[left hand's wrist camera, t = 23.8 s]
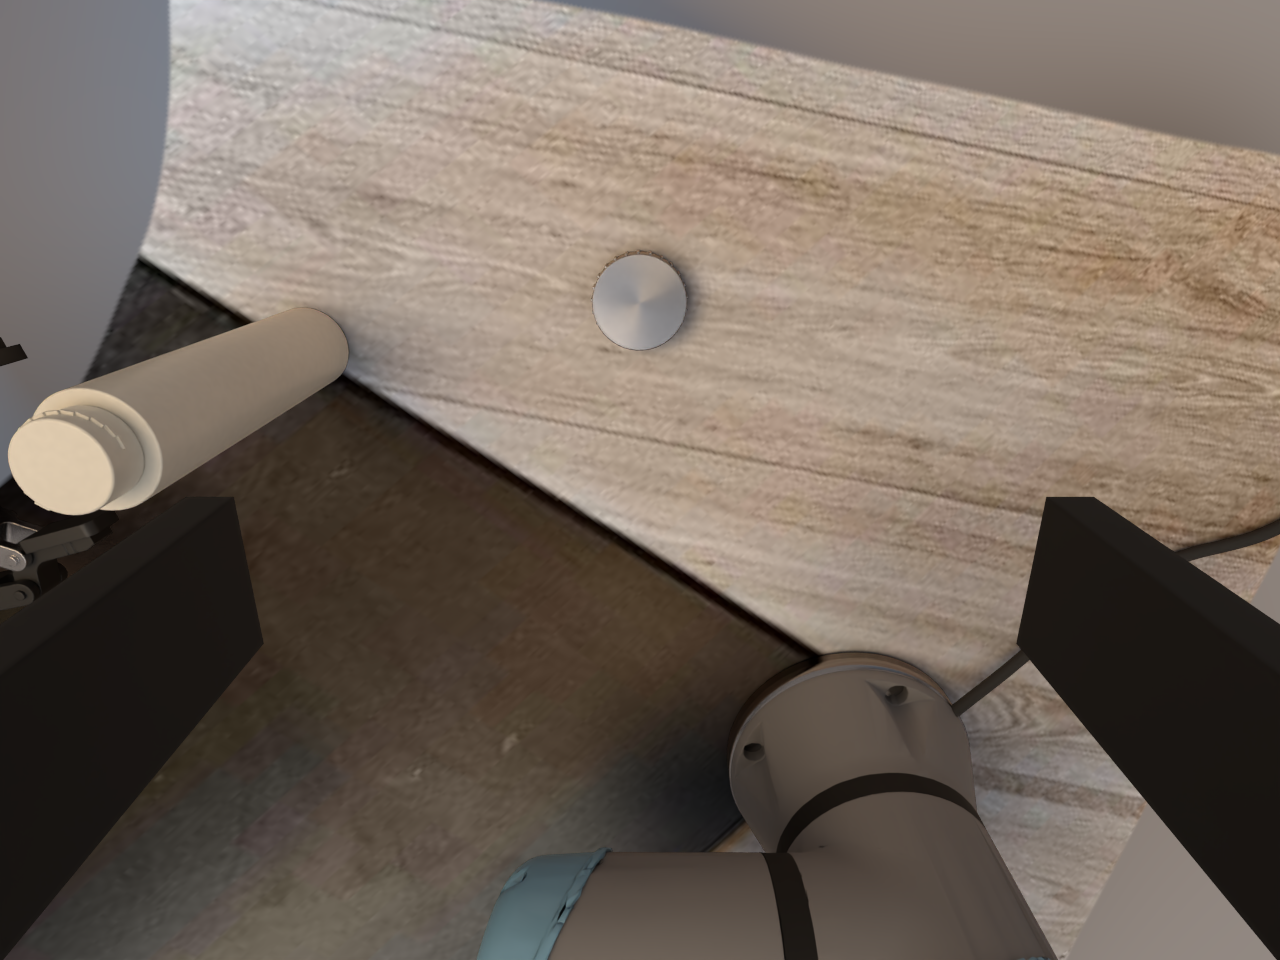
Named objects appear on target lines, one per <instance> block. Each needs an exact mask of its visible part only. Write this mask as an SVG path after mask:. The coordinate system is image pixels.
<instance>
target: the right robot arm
mask: <svg viewBox="0 0 1280 960" xmlns="http://www.w3.org/2000/svg"><path fill="white" fill-rule="evenodd" d="M26 358H27V356H26V354H25V352H24V351H23V349H22V347H21V345H20V344H18V345H14V346H10V347H6V345H5V344H4V342H3V340H2V338H1V337H0V366H3V365H6V364H9V363H13V362H16V361H20V360H23V359H26ZM118 520H119V518H118V517H117V515H116V513H115V511H114V510H97V511H95V512H92V513H89V514H84V515H79V516H75V517H72V518H68V519H64V520H61V521H57V522H54V523H51V524H49V525H47V526H45V527H42V526H39V525H36V524H32V523H29V522H26V521H23V520H20V519H18V518H17V513H16V512H14V511H12V510H9V509H6V508H3V507H0V567H2V568H5V569H8V570H7V571H2V572H0V610H5V609H10V608H15V607H20V606H25V605H29V604H31V603H32V602H34V601H35V600H36V599H38V598H39V597H41V596H42V595H44V594H45V593H47V592H48V591H50V590H51V589H53V588H54V587H55V586H57V585H58V584H60V583H61V582H63V581H64V580H65V579H66V578H67V575H68V574H67V570H66V569H65V567H64V566H63V565H61V564H60V563H57V558H60V557H63V556H67V555H71V554H75V553H78V552H82V551H86V550H88V549H90V548H91V547H93V546H94V545H96V544H97V543H99V542H100V541H102V540H103V539H105V538H106V537H107V536H108V535H110V534H111V533H112V530H111V528H110V527H109V526H110V525H112V524H113V523H115V522H116V521H118Z"/></svg>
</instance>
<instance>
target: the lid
mask: <svg viewBox="0 0 1280 960" xmlns="http://www.w3.org/2000/svg"><path fill="white" fill-rule="evenodd" d="M680 276H681V274H680V272H679V271H678V272H677V271H676V269H675V268H674V267H673V264H672V262H670V263H669V262H668V261H667V260H665V259H664V258H663V256H662V255H660V256H658V255H656V254H653V253H652V252H651V251H649V252H644V251H639V250H637V251H635V252H629V253H628V251H627V252H625V254H623V255H621V256H619V257H617V256H615V257H614V260H612V261H611V262H610V263H609V264H607V263H606V265H605V267H604V269H603V271H602V272H601V274H600V273H599V274H598V276H597V278H598V280H597V282H596V284H594V286H593V289H594V291H593V296H592V298H591V301H592V308H593V311H592V313H594V317H595V320H596V324H597V325H598V326H599V328H600V330H601V331H602V332H603V334H604V335H605V336H606V337H607V338H608V339H610V340H611V341H612V342H614V343H615V344H617V345H619V346H621V347H623V348H627V349H630V350H649V349H653V348H656V347H658V346H660V345H662V344H664V343H666V342H667V341H669V340H670V339H671V338H672V337H673V336H674V335H675V334H676V333H677V332H678V330H679V328H680V326H681V325H682V323H683V322H684V317H685V314H686V311H687V299H688V296H687V294H686V291H685V287H686V285H685V283H684V282H682V280H681V278H680Z"/></svg>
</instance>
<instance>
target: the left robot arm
mask: <svg viewBox="0 0 1280 960" xmlns="http://www.w3.org/2000/svg"><path fill="white" fill-rule="evenodd" d="M1279 534H1280V519H1279V520H1277V521H1275V522H1273V523H1271V524H1269V525H1267V526H1264V527H1262V528H1260V529H1257V530H1255V531H1252V532H1249V533H1246V534H1243V535H1239V536H1236V537H1232V538H1228V539H1224V540H1219V541H1215V542H1211V543H1207V544H1203V545H1198V546H1195V547H1191V548H1187V549H1184V550H1181V551H1178V552H1173V551H1172V550H1171V549H1169V548H1168V547H1166V546H1165V545H1163V544H1162V543H1160V542H1159V541H1157V540H1156V539H1154V538H1153V537H1152V536H1150V535H1149V534H1147V533H1146V532H1144V531H1143V530H1141V529H1140V528H1138V527H1137V526H1135V525H1134V524H1133V523H1131V522H1130V521H1128V520H1127V519H1125V518H1124V517H1122V516H1121V515H1119V514H1118V513H1116V512H1115V511H1114V510H1112V509H1111V508H1109V507H1108V506H1106V505H1105V504H1103V503H1102V502H1100V501H1099V500H1098V499H1096V498H1095V497H1046V501H1045V506H1044V511H1043V516H1042V521H1041V526H1040V531H1039V536H1038V541H1037V545H1036V550H1035V555H1034V560H1033V565H1032V570H1031V575H1030V580H1029V584H1028V589H1027V594H1026V599H1025V604H1024V609H1023V614H1022V619H1021V623H1020V628H1019V633H1018V638H1017V643H1016V644H1017V645H1018V646H1019V647H1020V648H1021V650H1020V651H1019V652H1018V653H1017V654H1016V655H1014V656H1013V657H1012V658H1011V659H1010V660H1009V661H1007V662H1006V663H1005V664H1004V665H1002V666H1001V667H1000V668H999V669H998V670H996V671H995V672H994V673H993V674H991V675H990V676H989V677H987V678H986V679H985V680H984V681H982V682H981V683H980V684H979V685H977V686H976V687H975V688H973V689H972V690H971V691H970V692H968V693H967V694H966V695H964V696H963V697H962V698H961V699H959V700H958V701H957V702H955V703H954V704H953V705H952V703H951V702H950V700H949V698H948V697H947V695H946V694H945V693H944V691H943V690H942V689H941V688H940V687H939V685H938V684H937V683H936V682H935V681H933V680H932V679H931V678H930V677H929V676H927V675H926V674H925V673H923V672H922V671H920V670H919V669H917V668H915V667H914V666H912V665H909V664H907V663H905V662H903V661H900V660H897V659H894V658H891V657H887V656H883V655H878V654H871V653H858V652H854V653H837V654H830V655H825V656H820V657H816V658H813V659H809V660H806V661H804V662H801V663H798V664H796V665H794V666H792V667H789V668H787V669H786V670H784V671H782V672H780V673H778V674H777V675H775V676H774V677H772V678H771V679H770V680H768V681H767V682H766V683H764V684H763V685H762V686H761V687H760V688H758V689H757V691H756V692H755V693H754V694H753V695H752V696H751V697H750V698H749V699H748V700H747V702H746V703H745V704H744V706H743V707H742V709H741V710H740V712H739V713H738V715H737V717H736V719H735V721H734V723H733V726H732V728H731V731H730V735H729V739H728V745H727V766H728V773H729V779H730V786H731V790H732V795H733V797H734V800H735V803H736V805H737V807H738V809H739V811H740V813H741V814H742V816H743V817H744V819H745V821H746V822H747V824H748V825H749V827H750V828H751V830H752V832H753V833H754V835H755V836H756V838H757V840H758V841H759V843H760V844H761V846H762V847H763V849H764V851H765V852H766V853H762V852H759V853H749V852H613V850H612V848H606V847H605V848H600V849H598V850H597V851H596V852H592V853H573V854H555V855H542V856H537V857H535V858H532V859H530V860H528V861H526V862H525V863H524V864H522V865H521V866H520V867H519V868H517V869H516V870H515V872H514V873H513V874H512V875H511V876H510V878H509V879H508V881H507V882H506V884H505V886H504V887H503V889H502V891H501V893H500V895H499V898H498V899H497V901H496V904H495V906H494V908H493V911H492V914H491V916H490V919H489V921H488V924H487V927H486V930H485V933H484V936H483V940H482V943H481V946H480V949H479V953H478V957H477V960H1058V959H1057V957H1056V955H1055V953H1054V952H1053V950H1052V948H1051V946H1050V944H1049V943H1048V941H1047V939H1046V937H1045V935H1044V933H1043V932H1042V930H1041V928H1040V926H1039V924H1038V923H1037V921H1036V919H1035V917H1034V915H1033V913H1032V912H1031V910H1030V908H1029V906H1028V904H1027V903H1026V901H1025V899H1024V897H1023V895H1022V894H1021V892H1020V890H1019V888H1018V886H1017V884H1016V883H1015V881H1014V879H1013V877H1012V875H1011V874H1010V872H1009V870H1008V868H1007V866H1006V864H1005V863H1004V861H1003V859H1002V857H1001V855H1000V854H999V852H998V850H997V848H996V846H995V844H994V843H993V841H992V839H991V837H990V836H989V834H988V832H987V830H986V828H985V826H984V825H983V823H982V821H981V819H980V817H979V815H978V813H977V808H976V799H975V790H974V781H973V772H972V763H971V754H970V746H969V740H968V735H967V732H966V729H965V727H964V724H963V722H962V720H961V718H960V717H959V716H960V715H961V714H962V713H964V712H965V711H966V710H967V709H969V708H970V707H971V706H973V705H974V704H975V703H977V702H978V701H979V700H980V699H982V698H983V697H984V696H986V695H987V694H988V693H989V692H991V691H992V690H993V689H994V688H996V687H997V686H998V685H1000V684H1001V683H1002V682H1003V681H1005V680H1006V679H1007V678H1008V677H1010V676H1011V675H1012V674H1013V673H1014V672H1016V671H1017V670H1018V669H1019V668H1020V667H1022V666H1023V665H1024V664H1025V663H1026V662H1028V661H1029V660H1030V661H1031V662H1032V663H1033V664H1034V665H1035V667H1036V668H1037V669H1038V670H1039V671H1040V673H1041V674H1042V675H1043V676H1044V678H1045V679H1046V680H1047V681H1048V682H1049V684H1050V685H1051V686H1052V687H1053V688H1054V690H1055V691H1056V692H1057V693H1058V695H1059V696H1060V697H1061V698H1062V699H1063V701H1064V702H1065V703H1066V704H1067V705H1068V707H1069V708H1070V709H1071V710H1072V712H1073V713H1074V714H1075V715H1076V716H1077V718H1078V719H1079V720H1080V721H1081V722H1082V724H1083V725H1084V726H1085V727H1086V729H1087V730H1088V731H1089V732H1090V733H1091V735H1092V736H1093V737H1094V738H1095V739H1096V741H1097V742H1098V743H1099V744H1100V746H1101V747H1102V748H1103V749H1104V750H1105V752H1106V753H1107V754H1108V755H1109V756H1110V758H1111V759H1112V760H1113V761H1114V763H1115V764H1116V765H1117V766H1118V767H1119V769H1120V770H1121V771H1122V772H1123V773H1124V775H1125V776H1126V777H1127V778H1128V780H1129V781H1130V782H1131V783H1132V784H1133V786H1134V787H1135V788H1136V789H1137V790H1138V792H1139V793H1140V794H1141V795H1142V797H1143V798H1144V799H1145V800H1146V801H1147V803H1148V804H1149V805H1150V806H1151V808H1152V809H1153V810H1154V811H1155V812H1156V814H1157V815H1158V816H1159V817H1160V818H1161V820H1162V821H1163V822H1164V823H1165V825H1166V826H1167V827H1168V828H1169V829H1170V831H1171V832H1172V833H1173V834H1174V835H1175V837H1176V838H1177V839H1178V840H1179V841H1180V843H1181V844H1182V845H1183V846H1184V848H1185V849H1186V850H1187V851H1188V852H1189V854H1190V855H1191V856H1192V857H1193V858H1194V860H1195V861H1196V862H1197V863H1198V865H1199V866H1200V867H1201V868H1202V869H1203V871H1204V872H1205V873H1206V874H1207V876H1208V877H1209V878H1210V879H1211V880H1212V882H1213V883H1214V884H1215V885H1216V886H1217V888H1218V889H1219V890H1220V891H1221V893H1222V894H1223V895H1224V896H1225V897H1226V899H1227V900H1228V901H1229V902H1230V903H1231V905H1232V906H1233V907H1234V908H1235V910H1236V911H1237V912H1238V913H1239V914H1240V916H1241V917H1242V918H1243V919H1244V920H1245V922H1246V923H1247V924H1248V925H1249V927H1250V928H1251V929H1252V930H1253V931H1254V933H1255V934H1256V935H1257V936H1258V937H1259V939H1260V940H1261V941H1262V942H1263V944H1264V945H1265V946H1266V947H1267V948H1268V950H1269V951H1270V952H1271V953H1272V954H1273V956H1274V957H1275V958H1276V959H1277V960H1280V624H1279V623H1277V622H1276V621H1274V620H1273V619H1271V618H1270V617H1268V616H1267V615H1265V614H1264V613H1262V612H1261V611H1260V610H1258V609H1257V608H1255V607H1254V606H1252V605H1251V604H1249V603H1248V602H1246V601H1245V600H1244V599H1242V598H1241V597H1239V596H1238V595H1236V594H1235V593H1233V592H1232V591H1230V590H1229V589H1227V588H1226V587H1225V586H1223V585H1222V584H1220V583H1219V582H1217V581H1216V580H1214V579H1213V578H1211V577H1210V576H1208V575H1207V574H1206V573H1204V572H1203V571H1201V570H1200V569H1198V568H1197V567H1195V566H1194V565H1192V564H1191V563H1189V562H1188V561H1192V560H1195V559H1199V558H1202V557H1206V556H1210V555H1214V554H1219V553H1223V552H1227V551H1232V550H1236V549H1240V548H1243V547H1247V546H1250V545H1253V544H1257V543H1259V542H1262V541H1265V540H1268V539H1270V538H1272V537H1275V536H1277V535H1279ZM263 644H264V643H263V638H262V633H261V628H260V623H259V619H258V614H257V609H256V604H255V599H254V594H253V589H252V584H251V580H250V575H249V570H248V565H247V560H246V555H245V550H244V545H243V541H242V536H241V531H240V526H239V521H238V516H237V511H236V506H235V501H234V497H185V498H184V499H182V500H181V501H180V502H178V503H177V504H175V505H174V506H172V507H171V508H169V509H168V510H166V511H165V512H164V513H162V514H161V515H159V516H158V517H156V518H155V519H153V520H152V521H150V522H149V523H147V524H146V525H145V526H143V527H142V528H140V529H139V530H137V531H136V532H134V533H133V534H131V535H130V536H128V537H127V538H126V539H124V540H123V541H121V542H120V543H118V544H117V545H115V546H114V547H112V548H111V549H109V550H108V551H107V552H105V553H104V554H102V555H101V556H99V557H98V558H96V559H95V560H93V561H92V562H91V563H89V564H88V565H86V566H85V567H83V568H82V569H80V570H79V571H77V572H76V573H74V574H73V575H72V576H70V577H69V578H67V579H66V580H64V581H63V582H61V583H60V584H58V585H57V586H55V587H54V588H53V589H51V590H50V591H48V592H47V593H45V594H44V595H42V596H41V597H39V598H38V599H36V600H35V601H34V602H32V603H31V604H29V605H28V606H26V607H25V608H23V609H22V610H20V611H19V612H18V613H16V614H15V615H13V616H12V617H10V618H9V619H7V620H6V621H4V622H3V623H1V624H0V960H3V959H4V958H5V957H6V956H7V954H8V953H9V952H10V951H11V950H12V948H13V947H14V946H15V945H16V944H17V942H18V941H19V940H20V939H21V937H22V936H23V935H24V934H25V933H26V931H27V930H28V929H29V928H30V927H31V925H32V924H33V923H34V922H35V920H36V919H37V918H38V917H39V916H40V914H41V913H42V912H43V911H44V910H45V908H46V907H47V906H48V905H49V903H50V902H51V901H52V900H53V899H54V897H55V896H56V895H57V894H58V893H59V891H60V890H61V889H62V888H63V886H64V885H65V884H66V883H67V882H68V880H69V879H70V878H71V877H72V876H73V874H74V873H75V872H76V871H77V869H78V868H79V867H80V866H81V865H82V863H83V862H84V861H85V860H86V859H87V857H88V856H89V855H90V854H91V852H92V851H93V850H94V849H95V848H96V846H97V845H98V844H99V843H100V842H101V840H102V839H103V838H104V837H105V835H106V834H107V833H108V832H109V831H110V829H111V828H112V827H113V826H114V825H115V823H116V822H117V821H118V820H119V818H120V817H121V816H122V815H123V814H124V812H125V811H126V810H127V809H128V807H129V806H130V805H131V804H132V803H133V801H134V800H135V799H136V798H137V797H138V795H139V794H140V793H141V792H142V790H143V789H144V788H145V787H146V786H147V784H148V783H149V782H150V781H151V780H152V778H153V777H154V776H155V775H156V773H157V772H158V771H159V770H160V769H161V767H162V766H163V765H164V764H165V763H166V761H167V760H168V759H169V758H170V756H171V755H172V754H173V753H174V752H175V750H176V749H177V748H178V747H179V746H180V744H181V743H182V742H183V741H184V739H185V738H186V737H187V736H188V735H189V733H190V732H191V731H192V730H193V729H194V727H195V726H196V725H197V724H198V722H199V721H200V720H201V719H202V718H203V716H204V715H205V714H206V713H207V712H208V710H209V709H210V708H211V707H212V705H213V704H214V703H215V702H216V701H217V699H218V698H219V697H220V696H221V695H222V693H223V692H224V691H225V690H226V688H227V687H228V686H229V685H230V684H231V682H232V681H233V680H234V679H235V678H236V676H237V675H238V674H239V673H240V671H241V670H242V669H243V668H244V667H245V665H246V664H247V663H248V662H249V661H250V659H251V658H252V657H253V656H254V654H255V653H256V652H257V651H258V650H259V648H260V647H261V646H262V645H263Z"/></svg>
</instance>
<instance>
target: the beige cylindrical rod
mask: <svg viewBox="0 0 1280 960" xmlns="http://www.w3.org/2000/svg"><path fill="white" fill-rule="evenodd" d="M348 355H349V351H348V344H347V340H346V337H345V335H344V333H343V331H342V330H341V328H340V327H339V326H338V324H337V323H336V322H335V321H334V320H333V319H331V318H330V317H329V316H327V315H326V314H324V313H322V312H320V311H318V310H315V309H311V308H294V309H291V310H288V311H285V312H282V313H279V314H277V315H274V316H271V317H268V318H265V319H262V320H260V321H257V322H254V323H251V324H248V325H245V326H243V327H240V328H237V329H234V330H231V331H228V332H226V333H223V334H220V335H217V336H214V337H211V338H209V339H206V340H203V341H200V342H197V343H194V344H192V345H189V346H186V347H183V348H180V349H177V350H175V351H172V352H169V353H166V354H163V355H160V356H158V357H155V358H152V359H149V360H146V361H143V362H141V363H138V364H135V365H132V366H129V367H126V368H124V369H121V370H118V371H115V372H112V373H109V374H107V375H104V376H101V377H98V378H95V379H92V380H90V381H87V382H84V383H81V384H78V385H75V386H73V387H70V388H67V389H64V390H61V391H59V392H56V393H54V394H52V395H50V396H49V397H48V398H46V399H45V400H44V401H43V402H42V403H41V404H40V405H39V406H38V408H37V410H36V411H35V413H34V415H33V417H31V418H29V419H28V420H27V421H26V422H25V423H24V424H23V425H22V426H21V427H19V428H18V430H17V431H16V433H15V434H14V436H13V437H12V439H11V441H10V444H9V449H8V462H9V466H10V469H11V472H12V475H13V477H14V479H15V480H16V482H17V483H18V485H19V486H20V488H21V489H22V490H23V491H24V493H25V494H26V495H27V496H29V497H30V498H31V499H32V500H34V501H35V503H34V504H36V505H38V506H40V507H42V508H44V509H46V510H48V511H50V510H51V511H54V512H57V513H61V514H66V515H84V514H89V513H92V512H95V511H97V510H99V509H101V510H123V509H129V508H132V507H135V506H137V505H139V504H141V503H143V502H144V501H146V500H147V499H149V498H151V497H152V496H154V495H155V494H157V493H158V492H160V491H162V490H163V489H165V488H166V487H168V486H169V485H171V484H173V483H174V482H176V481H177V480H179V479H180V478H182V477H184V476H185V475H187V474H188V473H190V472H191V471H193V470H195V469H196V468H198V467H199V466H201V465H203V464H204V463H206V462H207V461H209V460H210V459H212V458H214V457H215V456H217V455H218V454H220V453H221V452H223V451H225V450H226V449H228V448H229V447H231V446H232V445H234V444H236V443H237V442H239V441H240V440H242V439H243V438H245V437H247V436H248V435H250V434H251V433H253V432H254V431H256V430H258V429H259V428H261V427H262V426H264V425H265V424H267V423H269V422H270V421H272V420H273V419H275V418H276V417H278V416H280V415H281V414H283V413H284V412H286V411H287V410H289V409H291V408H292V407H294V406H295V405H297V404H298V403H300V402H302V401H303V400H305V399H306V398H308V397H309V396H311V395H313V394H314V393H316V392H317V391H319V390H320V389H322V388H324V387H325V386H327V385H328V384H330V383H331V382H333V381H334V380H336V379H337V378H338V377H339V376H340V375H341V374H342V373H343V371H344V369H345V368H346V365H347V362H348Z"/></svg>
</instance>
